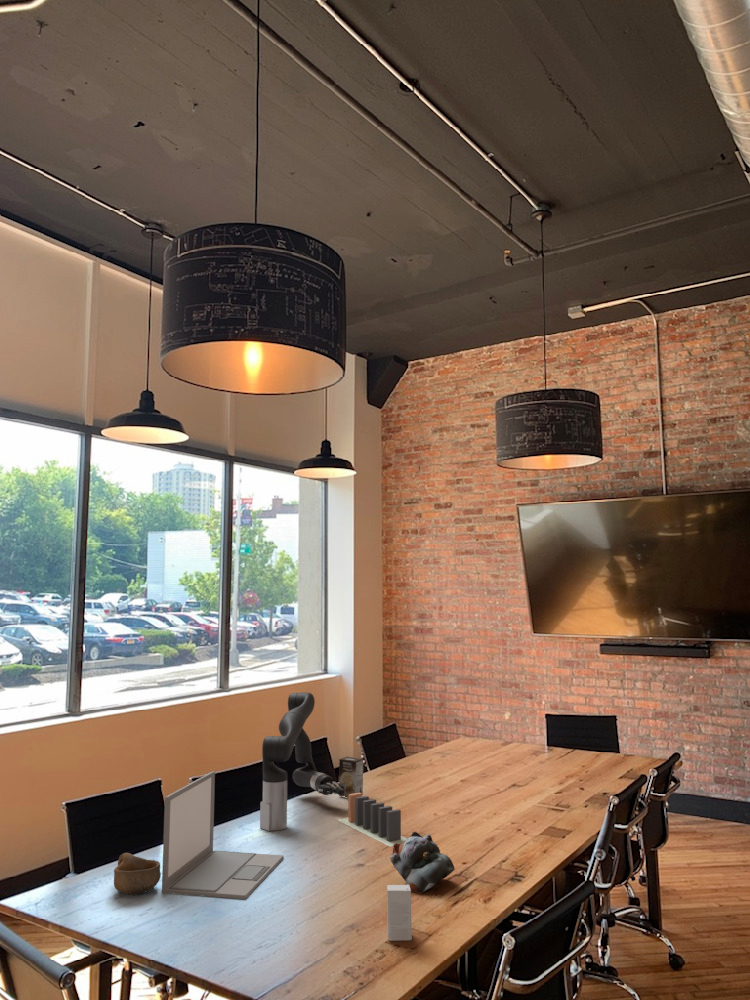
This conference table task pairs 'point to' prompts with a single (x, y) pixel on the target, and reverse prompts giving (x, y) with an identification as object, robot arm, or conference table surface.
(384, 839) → the strip
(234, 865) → the laptop
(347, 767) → the coffee box
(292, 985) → the conference table surface
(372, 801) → the domino
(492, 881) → the conference table surface
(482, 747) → the conference table surface
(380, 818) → the domino
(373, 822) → the domino
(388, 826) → the domino
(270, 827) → the robot arm
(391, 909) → the skincare box
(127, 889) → the bowl
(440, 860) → the lucky cat figurine
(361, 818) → the domino
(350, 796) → the domino
